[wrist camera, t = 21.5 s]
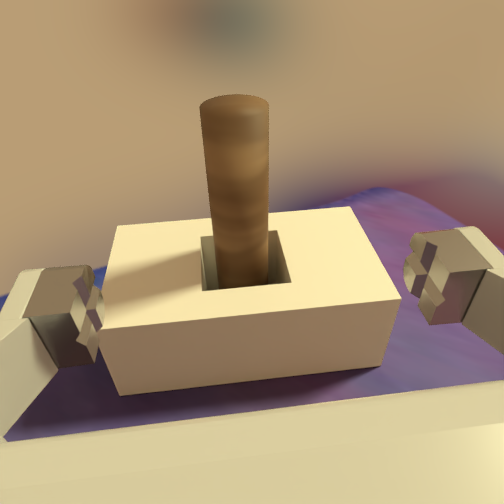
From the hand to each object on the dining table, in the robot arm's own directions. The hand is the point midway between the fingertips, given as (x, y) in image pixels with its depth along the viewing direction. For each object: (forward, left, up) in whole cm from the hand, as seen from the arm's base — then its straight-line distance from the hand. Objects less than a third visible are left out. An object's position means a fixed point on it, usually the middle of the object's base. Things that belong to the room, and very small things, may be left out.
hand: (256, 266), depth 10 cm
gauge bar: (+10, +4, -15) cm, 18 cm away
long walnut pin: (+10, +4, -15) cm, 18 cm away
